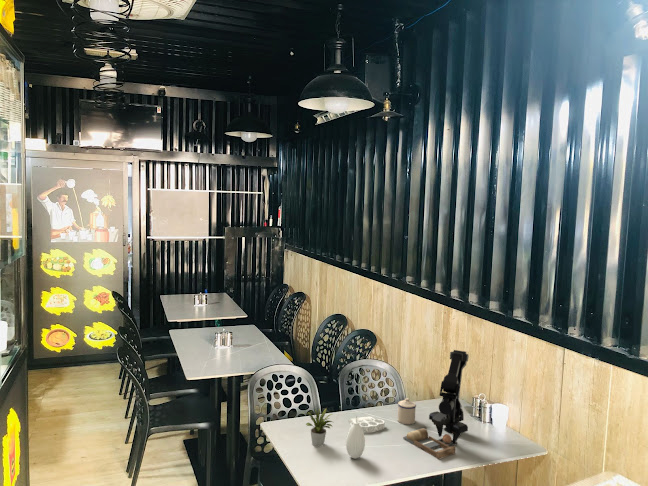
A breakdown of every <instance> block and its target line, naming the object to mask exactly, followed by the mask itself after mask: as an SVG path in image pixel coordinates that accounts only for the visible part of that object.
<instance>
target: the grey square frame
mask: <svg viewBox="0 0 648 486" xmlns="http://www.w3.org/2000/svg"><path fill="white" fill-rule="evenodd" d="M437 440H438V441H440V442H442V443H444V444H446V445H448V446H450V447H451V446H455V445H458V442H457V441H456V443H455V444H453V439H451V442H450V443H445V442H444V441H443V437H441V438H438V439H437Z"/></svg>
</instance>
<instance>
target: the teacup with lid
mask: <svg viewBox="0 0 648 486" xmlns="http://www.w3.org/2000/svg"><path fill="white" fill-rule="evenodd" d="M416 407H417V404H416V403H415V402H414V401H412V400H410V398H408V397H407V398H406V397H405V399H403V400H399V401H398V402H397V422H398V423H400V424H402V425H413V424H414V423H416Z"/></svg>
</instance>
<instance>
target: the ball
mask: <svg viewBox="0 0 648 486" xmlns="http://www.w3.org/2000/svg"><path fill="white" fill-rule="evenodd" d="M442 438H443V441H442V442H443V443H445V444H451V443H452V442H451V440H452V436H451V435H450V434H448V433H445V434H443V436H442Z"/></svg>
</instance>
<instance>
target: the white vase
mask: <svg viewBox="0 0 648 486" xmlns="http://www.w3.org/2000/svg"><path fill="white" fill-rule="evenodd" d="M355 418H356V422H354V423H353V425H352V426H351V428H350V427H349V430H348V433H347V436H346V439H345V446H346V447H345V448H346V452H347V454H348V456H350V458H352V459H354V460H355V459H358V458H360V457H361V456H362V454H363V452H364V451H365V447H366V446H365V445H366V444H365V443H366V437H365V433H363V430H362V428H361V426H360V425H359V424H360V423H359V422H357V418H358V416H356V417H355Z"/></svg>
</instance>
